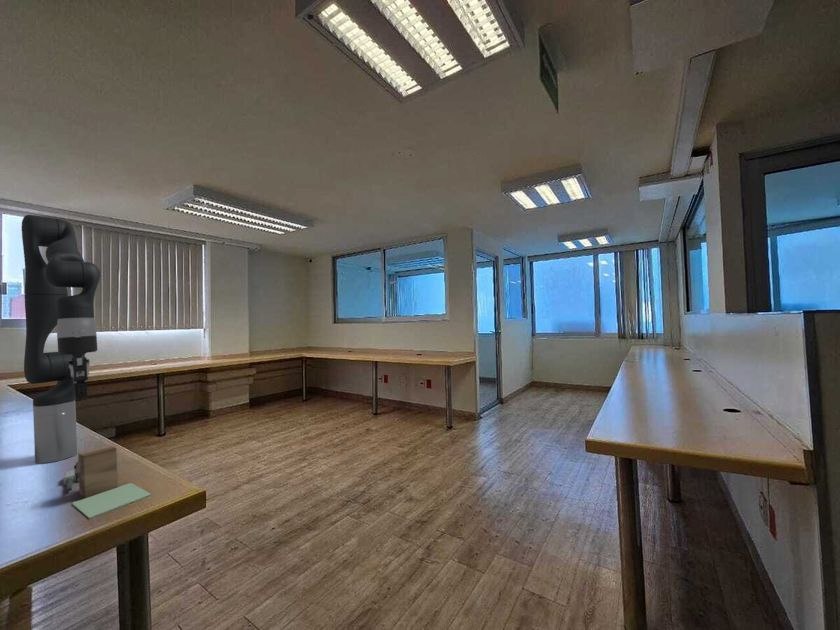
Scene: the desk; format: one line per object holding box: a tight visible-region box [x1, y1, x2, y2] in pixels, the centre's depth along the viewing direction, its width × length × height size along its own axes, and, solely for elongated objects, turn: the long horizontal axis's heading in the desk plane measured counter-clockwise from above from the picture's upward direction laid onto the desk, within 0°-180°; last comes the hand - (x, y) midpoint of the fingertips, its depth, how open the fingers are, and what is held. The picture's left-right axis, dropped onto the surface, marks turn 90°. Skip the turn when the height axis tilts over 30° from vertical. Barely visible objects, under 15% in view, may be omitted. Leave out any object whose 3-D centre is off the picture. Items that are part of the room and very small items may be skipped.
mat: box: [71, 482, 152, 519], centre depth 82 cm, size 12×11×1 cm
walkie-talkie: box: [63, 461, 79, 492], centre depth 95 cm, size 9×4×20 cm
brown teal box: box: [77, 444, 119, 499], centre depth 87 cm, size 5×6×10 cm
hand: (81, 396), depth 93 cm, fingers open, 8 cm apart
